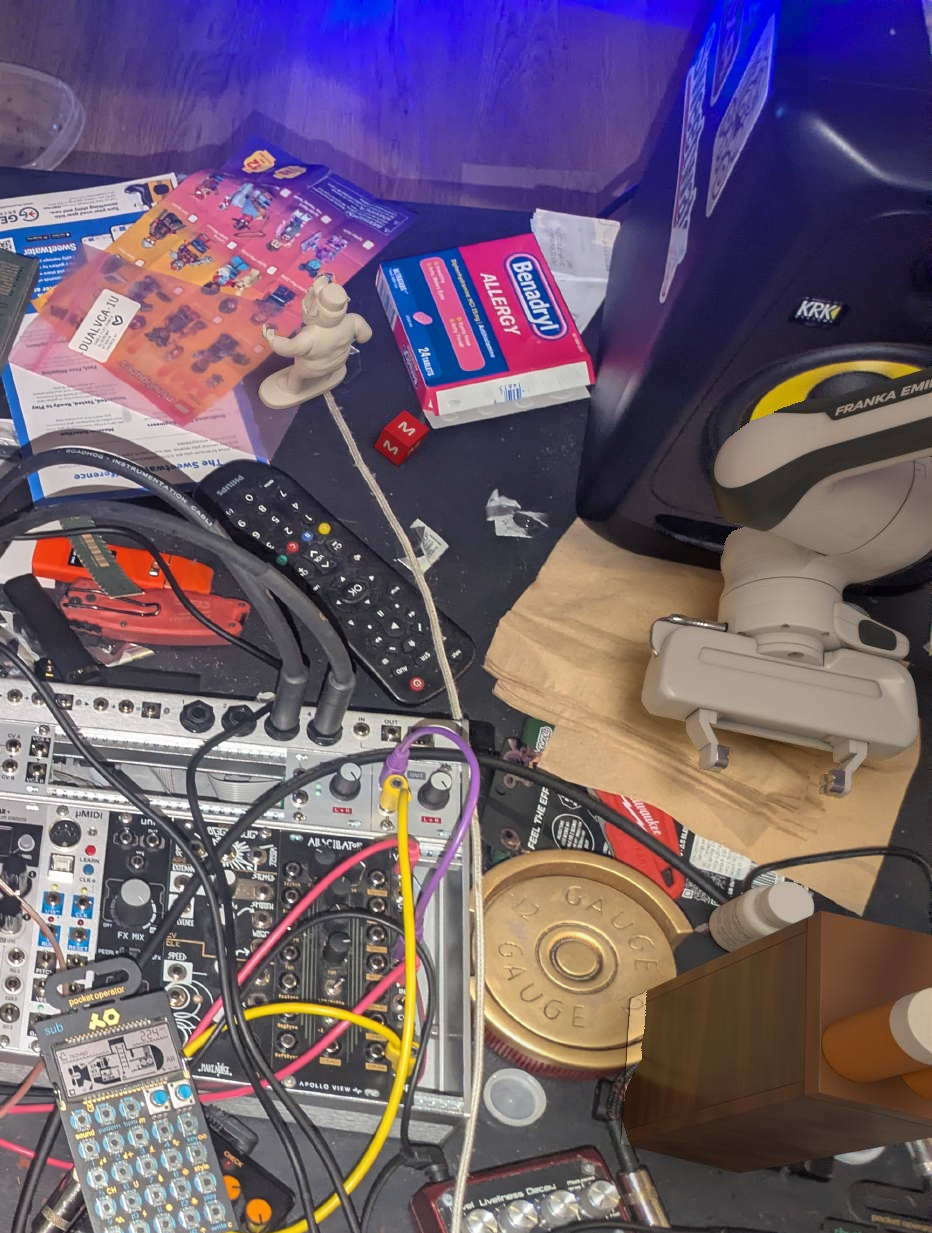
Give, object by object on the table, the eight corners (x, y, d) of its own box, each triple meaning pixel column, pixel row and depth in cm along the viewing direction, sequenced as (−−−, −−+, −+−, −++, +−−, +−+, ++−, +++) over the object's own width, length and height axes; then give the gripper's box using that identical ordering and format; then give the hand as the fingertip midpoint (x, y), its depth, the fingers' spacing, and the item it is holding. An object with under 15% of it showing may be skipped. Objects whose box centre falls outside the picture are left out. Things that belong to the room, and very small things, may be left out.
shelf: (954, 949, 87) (971, 943, 86) (958, 1133, 83) (976, 1129, 82) (807, 916, 88) (821, 909, 87) (803, 1096, 84) (818, 1092, 83)
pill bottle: (762, 910, 112) (821, 881, 105) (762, 960, 111) (821, 934, 104) (707, 898, 113) (761, 869, 106) (706, 948, 111) (761, 922, 104)
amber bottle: (891, 1026, 84) (986, 997, 77) (891, 1092, 83) (988, 1069, 75) (820, 1009, 85) (907, 979, 77) (818, 1075, 83) (908, 1050, 76)
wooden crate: (745, 1024, 109) (954, 949, 87) (740, 1173, 105) (958, 1133, 83) (629, 998, 110) (807, 916, 88) (619, 1143, 106) (803, 1096, 84)
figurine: (321, 338, 135) (358, 249, 124) (357, 387, 133) (398, 300, 121) (241, 373, 134) (271, 286, 122) (277, 422, 131) (311, 338, 120)
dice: (418, 448, 130) (429, 428, 127) (398, 466, 129) (409, 447, 126) (394, 429, 131) (404, 409, 128) (373, 447, 130) (383, 428, 127)
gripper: (670, 591, 113) (661, 738, 109) (930, 642, 111) (932, 794, 106) (632, 627, 119) (622, 768, 115) (879, 676, 117) (879, 822, 112)
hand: (773, 781), depth 110 cm, fingers open, 8 cm apart
